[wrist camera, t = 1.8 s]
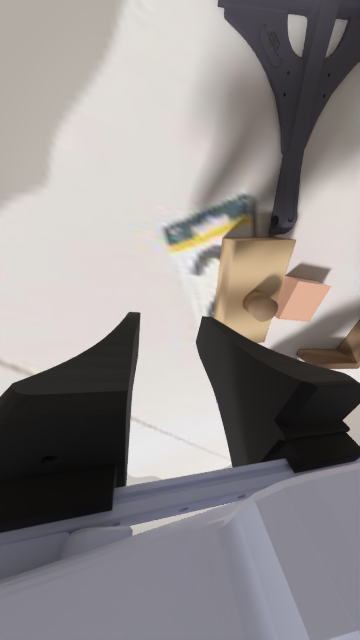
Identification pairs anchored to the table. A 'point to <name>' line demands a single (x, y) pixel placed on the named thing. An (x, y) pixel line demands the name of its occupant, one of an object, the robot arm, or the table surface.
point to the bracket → (297, 75)
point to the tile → (300, 298)
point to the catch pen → (336, 353)
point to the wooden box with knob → (251, 283)
